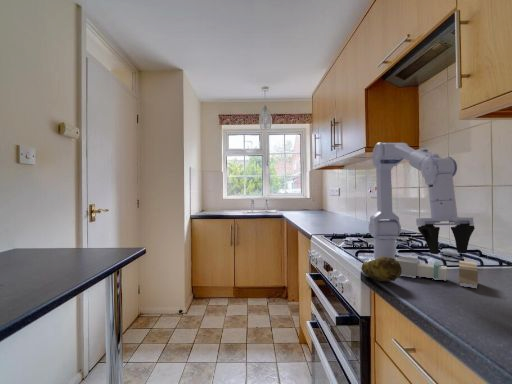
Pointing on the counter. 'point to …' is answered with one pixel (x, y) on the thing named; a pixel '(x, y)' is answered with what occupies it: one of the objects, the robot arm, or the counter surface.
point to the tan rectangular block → (468, 272)
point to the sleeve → (408, 265)
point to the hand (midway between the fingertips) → (448, 253)
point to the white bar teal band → (432, 270)
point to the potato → (382, 269)
